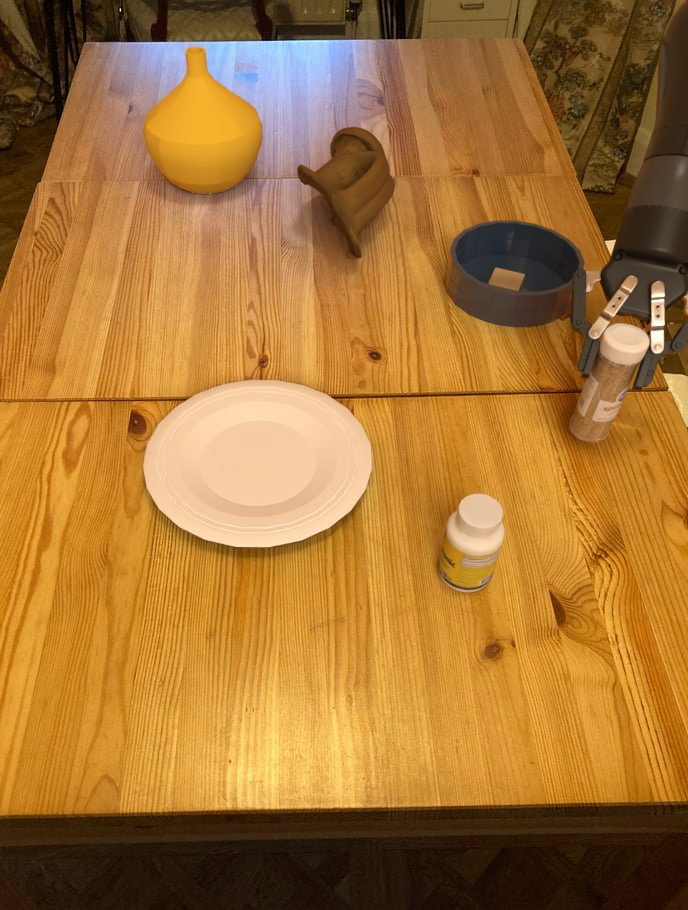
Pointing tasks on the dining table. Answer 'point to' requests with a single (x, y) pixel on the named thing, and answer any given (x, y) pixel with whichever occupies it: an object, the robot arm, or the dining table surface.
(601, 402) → the sprinkles bottle
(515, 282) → the block
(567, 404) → the dining table surface
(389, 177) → the brown looped sculpture
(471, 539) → the supplement bottle
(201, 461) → the plate
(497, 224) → the bowl
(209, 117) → the vase
